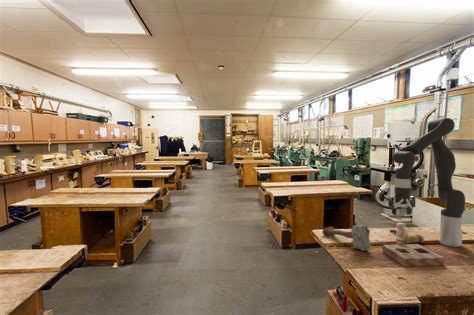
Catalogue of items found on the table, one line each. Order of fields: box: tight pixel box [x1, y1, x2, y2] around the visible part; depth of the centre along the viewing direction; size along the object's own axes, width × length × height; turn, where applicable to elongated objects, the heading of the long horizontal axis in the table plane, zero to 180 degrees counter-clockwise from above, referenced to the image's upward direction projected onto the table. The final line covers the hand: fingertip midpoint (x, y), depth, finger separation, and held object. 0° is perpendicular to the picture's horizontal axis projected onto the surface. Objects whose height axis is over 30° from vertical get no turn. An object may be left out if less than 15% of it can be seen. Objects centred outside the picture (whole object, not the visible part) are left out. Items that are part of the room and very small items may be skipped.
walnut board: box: [382, 243, 445, 268], centre depth 123 cm, size 20×16×4 cm
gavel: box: [389, 229, 425, 244], centre depth 152 cm, size 21×5×10 cm
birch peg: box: [395, 222, 406, 245], centre depth 136 cm, size 4×4×14 cm
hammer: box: [321, 223, 372, 252], centre depth 144 cm, size 15×10×30 cm
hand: (401, 214), depth 136 cm, fingers open, 8 cm apart
